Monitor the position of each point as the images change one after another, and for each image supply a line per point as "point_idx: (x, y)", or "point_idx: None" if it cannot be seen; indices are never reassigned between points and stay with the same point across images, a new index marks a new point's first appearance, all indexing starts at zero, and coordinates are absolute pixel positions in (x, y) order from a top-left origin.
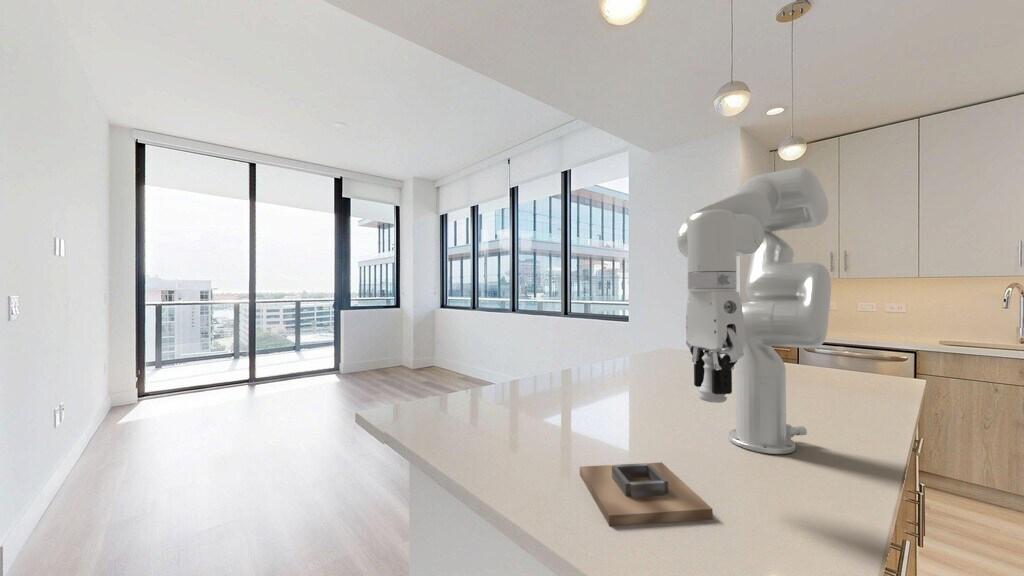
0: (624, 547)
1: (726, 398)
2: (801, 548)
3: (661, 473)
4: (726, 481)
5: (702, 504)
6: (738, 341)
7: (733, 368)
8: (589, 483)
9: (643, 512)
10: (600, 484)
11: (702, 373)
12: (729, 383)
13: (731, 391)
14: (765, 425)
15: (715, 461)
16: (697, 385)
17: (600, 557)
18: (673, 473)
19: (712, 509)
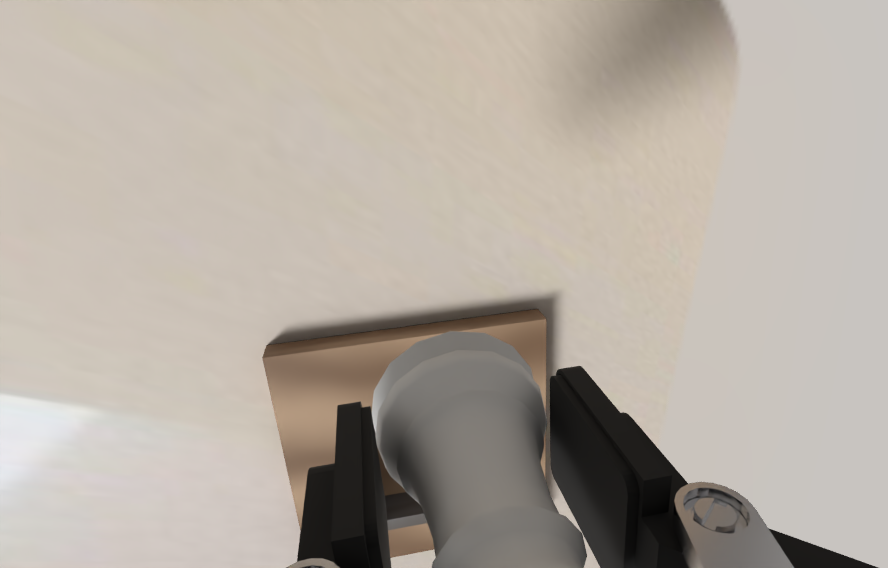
0: None
1: (509, 348)
2: (663, 170)
3: (348, 381)
4: (339, 167)
5: (525, 334)
6: None
7: (735, 497)
8: (405, 553)
9: (543, 467)
10: (413, 533)
11: (386, 546)
12: (644, 436)
13: (583, 370)
14: None
15: (160, 117)
16: (385, 504)
17: None
18: (347, 347)
19: (545, 318)
